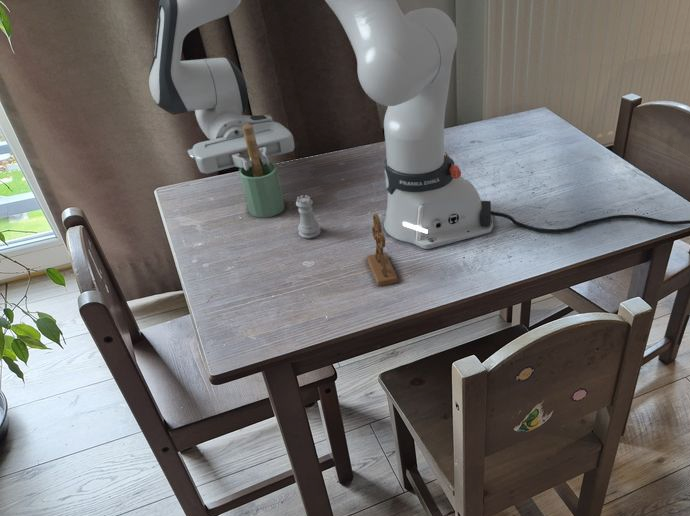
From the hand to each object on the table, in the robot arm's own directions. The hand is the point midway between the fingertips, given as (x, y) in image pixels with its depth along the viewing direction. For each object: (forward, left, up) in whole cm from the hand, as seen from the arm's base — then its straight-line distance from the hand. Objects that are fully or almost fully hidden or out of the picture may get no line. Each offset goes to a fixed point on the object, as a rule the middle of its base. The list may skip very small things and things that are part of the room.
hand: (257, 164), depth 127 cm
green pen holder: (0, -1, -10) cm, 11 cm away
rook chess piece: (-8, +11, -11) cm, 17 cm away
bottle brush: (0, -1, -9) cm, 10 cm away
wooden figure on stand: (-20, +27, -11) cm, 35 cm away
